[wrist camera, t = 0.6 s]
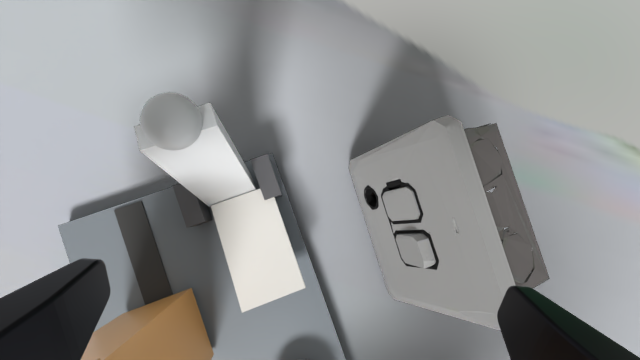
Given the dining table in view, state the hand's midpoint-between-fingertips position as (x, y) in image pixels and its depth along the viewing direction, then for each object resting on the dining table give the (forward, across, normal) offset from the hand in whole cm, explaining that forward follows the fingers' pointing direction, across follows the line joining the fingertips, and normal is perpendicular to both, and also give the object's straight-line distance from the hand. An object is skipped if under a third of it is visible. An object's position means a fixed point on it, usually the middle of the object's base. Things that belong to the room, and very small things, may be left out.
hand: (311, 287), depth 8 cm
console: (+9, +5, +12) cm, 16 cm away
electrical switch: (+14, -7, +6) cm, 16 cm away
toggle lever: (+12, +4, +4) cm, 13 cm away
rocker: (+10, +2, +6) cm, 12 cm away
